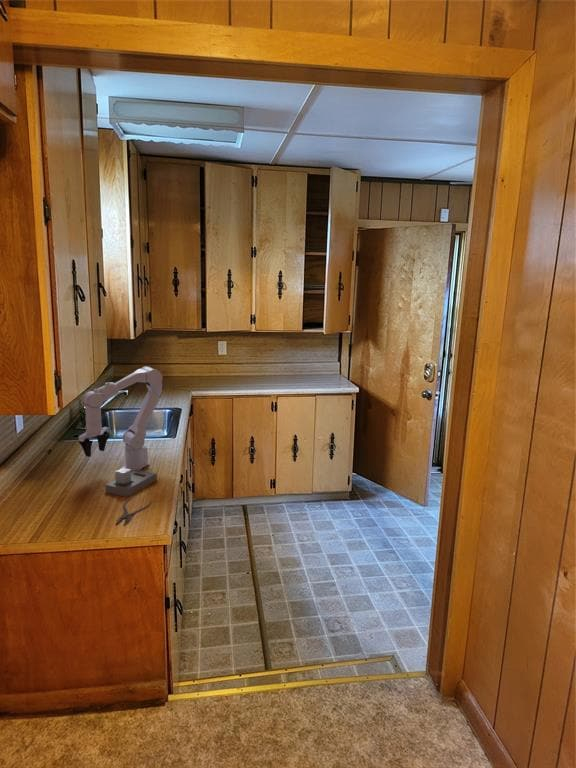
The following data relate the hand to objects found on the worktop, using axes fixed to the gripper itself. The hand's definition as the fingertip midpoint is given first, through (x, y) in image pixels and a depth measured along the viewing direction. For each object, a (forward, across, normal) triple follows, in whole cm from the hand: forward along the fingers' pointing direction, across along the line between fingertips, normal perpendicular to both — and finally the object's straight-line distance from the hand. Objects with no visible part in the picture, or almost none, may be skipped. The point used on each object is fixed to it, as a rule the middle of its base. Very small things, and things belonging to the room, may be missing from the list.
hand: (95, 453), depth 197 cm
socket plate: (+9, -2, -20) cm, 22 cm away
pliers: (+10, -19, -35) cm, 41 cm away
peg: (+9, -6, -20) cm, 23 cm away
